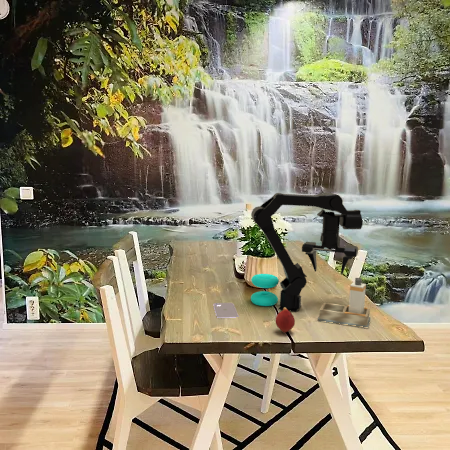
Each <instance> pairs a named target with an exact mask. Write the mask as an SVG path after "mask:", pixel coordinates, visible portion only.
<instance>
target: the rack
mask: <svg viewBox="0 0 450 450" xmlns="http://www.w3.org/2000/svg"><path fill="white" fill-rule="evenodd" d="M370 311H371V310H370V308H368V307H365V306H364V314H357V313H350V312H349V304H348V305H343V304H337V303H330V302H323V303H322V305H321V307H320V308H319V316H318V317H317V321H318V320H319V321H318V322H321V321H326V322H325V323H327V322H333V323H340V324H348V325H356V326H363V327H368V326H369V327H370V323H369V322H371V316H370ZM333 323H332V324H333ZM340 324H339V325H340ZM369 327H368V328H369Z"/></svg>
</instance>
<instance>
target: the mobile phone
mask: <svg viewBox="0 0 450 450" xmlns="http://www.w3.org/2000/svg"><path fill="white" fill-rule="evenodd" d="M212 305H213V306H214V307H213V309H214V310H215V311H214V310H213V311H214V314H215V313H216V314H215V317H216V316H217V318H236V317H239V314H238V311H237V308H236V307H235V304H234V303H233V302H214V303H213V304H212ZM217 318H216V319H217ZM239 318H240V317H239Z"/></svg>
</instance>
